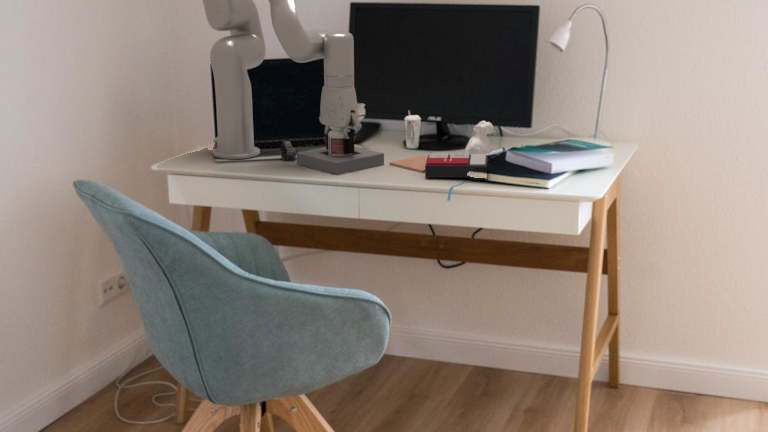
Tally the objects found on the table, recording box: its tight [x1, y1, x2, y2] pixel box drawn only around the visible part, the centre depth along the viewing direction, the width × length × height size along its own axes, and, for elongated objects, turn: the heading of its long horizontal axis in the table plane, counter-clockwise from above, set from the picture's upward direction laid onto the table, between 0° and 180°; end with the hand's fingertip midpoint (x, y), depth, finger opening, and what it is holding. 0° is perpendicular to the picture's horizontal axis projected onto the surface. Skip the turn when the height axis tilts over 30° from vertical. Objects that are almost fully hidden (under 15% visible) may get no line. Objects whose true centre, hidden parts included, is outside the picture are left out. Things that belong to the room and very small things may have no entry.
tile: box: [389, 154, 428, 174], centre depth 249 cm, size 12×12×1 cm
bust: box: [464, 120, 494, 155], centre depth 255 cm, size 12×8×11 cm
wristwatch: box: [280, 140, 297, 161], centre depth 256 cm, size 3×5×5 cm
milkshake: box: [404, 110, 422, 149], centre depth 268 cm, size 4×5×10 cm
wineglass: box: [354, 102, 366, 148], centre depth 268 cm, size 7×7×12 cm
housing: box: [296, 146, 385, 176], centre depth 250 cm, size 16×16×3 cm
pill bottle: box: [328, 125, 352, 158], centre depth 248 cm, size 6×6×11 cm
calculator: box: [424, 152, 489, 181], centre depth 239 cm, size 11×4×15 cm
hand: (340, 150), depth 249 cm, fingers closed on pill bottle, 6 cm apart
